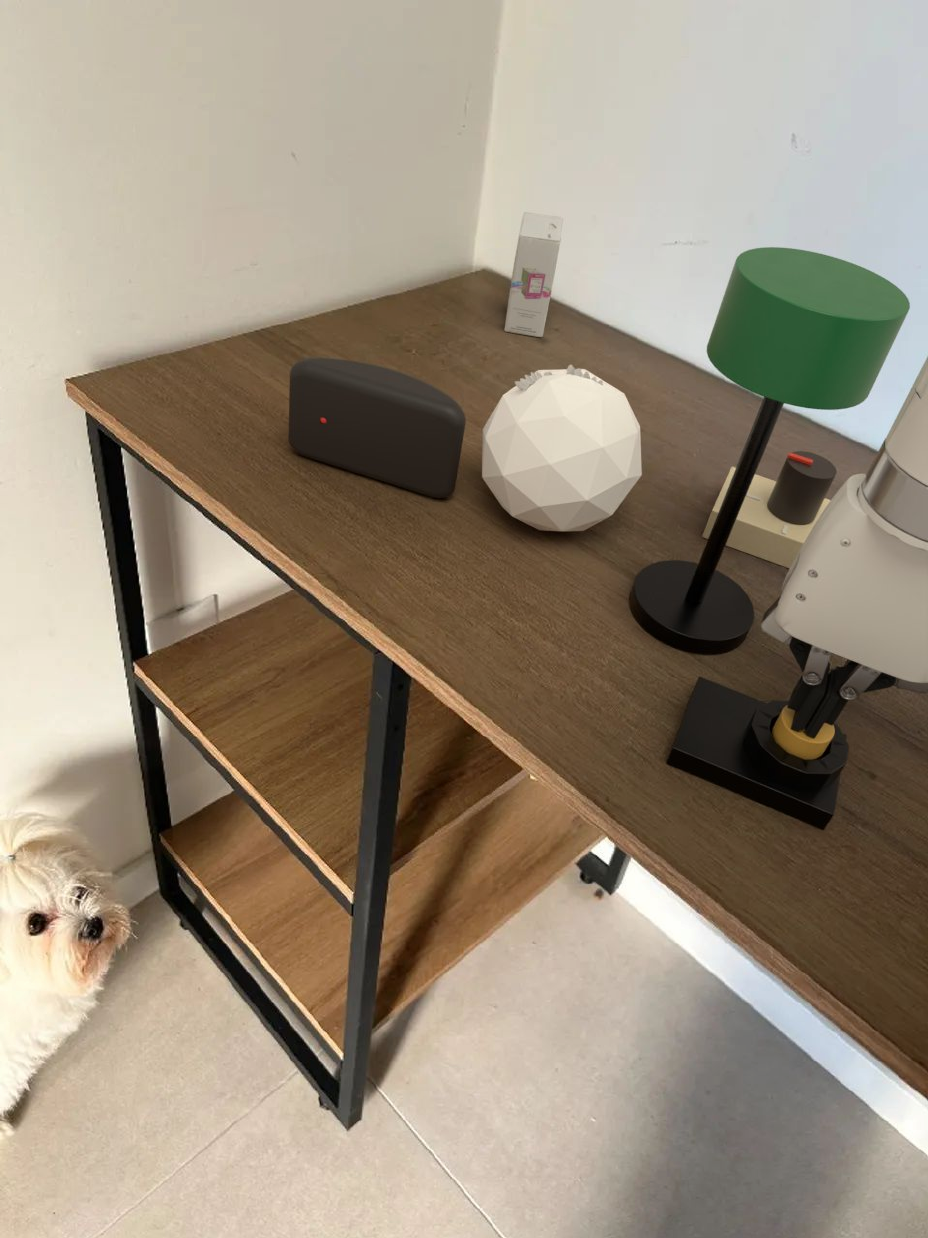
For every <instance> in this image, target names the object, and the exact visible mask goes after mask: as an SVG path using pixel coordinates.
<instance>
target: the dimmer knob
mask: <svg viewBox="0 0 928 1238" xmlns="http://www.w3.org/2000/svg"><path fill="white" fill-rule="evenodd" d="M836 475H837V467H836V466H835V465H834V464H833V463H832V462H831V461H830V460H829V459H827V458H825V457H824V456H822V455H819V454H817V453H815V452H810V451H804V450H802V451H801V450H796V451H792V452H789V453H788V455H787V456H786V458H785V461H784V463H783V465H782V468H781V471H780V472H779V474H778V477H777V480H776V484H775V486H774V489H773V491H772V493H771V496H770V498H769V500H768V503H767V506H768V509H769V510H770V512H771V513H772V514H773V515H775V516H776V517H777V518H779V519H781V520H783V521H785V522H788V523H792V524H796V525H806V524H810V523H812V522H813V521H814V519H815V517H816V515H817V513H818V511H819V509H820V507H821V505H822V503H823V501H824V498H826V497H827V494H828V492H829V490H830V488H831V486H832V484H833V482H834V480H835V478H836Z"/></svg>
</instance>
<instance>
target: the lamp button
mask: <svg viewBox="0 0 928 1238" xmlns="http://www.w3.org/2000/svg"><path fill="white" fill-rule="evenodd" d="M787 706H788V705H787ZM787 706H785V707H784V708H783V710H782V712H781V713H780V715H779V717H778V719H777V721H776V723H775V725H774V726H773V730H772V734H773V737H774V740H775V742H776V743H777V744H779V745H780V746H781V747H782V748H783V749H784V750H785V751H787V752H788V753H790V754H792V755H795V756H797V757H800V758H802V759H816V758H818V757H820V756H821V755H822V754H823V753H824V751H825V750H826V748H827V746H828V745H829V743H830V741H831V740H832V738H833V736H834V733H835V729H834V725H832V726H831V725H829V724H826V723H824V724H823V726H822V728H821V729H820V731H819V732H818V734H817V736H816V737H815V738H812V737H809V736H807V733H805V728H804V730H803V731H799V732H797V731H795V730H792V729H791V725H792V721H793V717H794V713H795V711H794V710H792V709H789V708H787ZM805 727H806V726H805Z"/></svg>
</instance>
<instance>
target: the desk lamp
mask: <svg viewBox="0 0 928 1238" xmlns="http://www.w3.org/2000/svg"><path fill="white" fill-rule="evenodd" d="M910 308H911V303H910V300H909V298H908V297H907V295H906V293H904V291H902V289H900V288H899V287H898V286H897V285H896V284H894V283H893V282H891V281H890V280H888V279H887V278H885V277H883V276H881V275H879V274H878V273H876V272H875V271H872V270H870V269H867V268H866V267H862V266H861V265H858V264H856V263H853V262H850V261H847V260H844V259H841V258H837V257H834V256H832V255H827V254H823V253H819V252H815V251H811V250H805V249H798V248H792V247H791V248H790V247H779V246H777V247H776V246H775V247H774V246H769V247H767V246H765V247H755V248H751V249H748V250H745V251H743V252H742V253H740V254H739V255H738V256H736V259H735V261H734V265H733V267H732V270H731V274H730V276H729V279H728V282H727V285H726V288H725V291H724V294H723V297H722V300H721V303H720V306H719V308H718V312H717V314H716V317H715V320H714V323H713V327H712V329H711V332H710V335H709V338H708V342H707V345H706V354H707V358H708V359H709V361H710V363H711V364H712V365H713V367H714V368H715V369H716V370H717V371H718V372H719V373H720V374H721V375H723V376H724V377H725V378H726V379H729V380H730V381H731V382H733V383H734V384H736V385H738V386H740V387H742V388H744V389H746V390H747V391H749V392H751V393H754V394H756V395H759V396H761V397H763V399H762V402H761V404H760V407H759V409H758V411H757V414H756V417H755V419H754V422H753V424H752V427H751V429H750V431H749V434H748V437H747V439H746V442H745V444H744V447H743V448H742V449H743V450H742V452H741V454H740V457H739V459H738V462H737V464H736V466H735V468H736V470H735V472H734V475H733V477H732V480H731V482H730V485H729V487H728V490H727V492H726V495H725V497H724V500H723V503H722V505H721V508H720V510H719V513H718V515H717V518H716V520H715V523H714V525H713V528H712V530H711V533H710V535H709V538H708V539H707V541H706V543H705V546H704V548H703V551H702V554H701V556H700V558H699V561H698V563H697V562H694V561H688V560H681V559H667V560H660V561H656V562H653V563H650V564H648V565H646V566H645V567H643V568H642V569H641V570H639V572H638V573H637V575H636V576H635V579H634V581H633V584H632V586H631V590H630V592H629V598H628V604H629V608H630V612H631V614H632V616H633V618H634V619H635V620H636V622H637V623H638V625H639V626H640V627H641V628H642V629H643V630H644V631H645V632H647V633H648V634H649V636H652V637H653V638H654V639H656V640H658V641H659V642H660V643H663V644H665V645H667V646H669V647H670V648H673V649H676V650H679V651H682V652H686V653H689V654H695V655H706V656H707V655H709V656H710V655H711V656H712V655H713V656H714V655H721V654H724V653H729V652H731V651H734V650H735V649H737V648H738V647H740V646H741V645H742V644H743V643H744V642H745V641H746V639H747V637H748V634H749V632H750V630H751V628H752V626H753V624H754V621H755V607H754V605H753V602H752V600H751V598H750V596H749V595H748V593H746V591H745V589H743V588H742V587H741V586H740V584H738V583H737V582H736V581H734V579H732V578H730V577H729V576H728V575H726V574H724V573H722V572H721V571H719V570H716V569H717V567H718V564H719V562H720V560H721V557H722V555H723V553H724V551H725V547H726V543H727V541H728V538H729V536H730V533H731V531H732V528H733V526H734V524H735V521H736V519H737V516H738V514H739V511H740V509H741V507H742V504H743V502H744V499H745V497H746V494H747V492H748V490H749V487H750V485H751V482H752V480H753V477H754V475H755V474H756V472H757V471H758V468H759V465H760V463H761V460H762V458H763V456H764V454H765V450H766V448H767V446H768V443H769V441H770V438H771V436H772V434H773V431H774V429H775V427H776V424H777V421H778V419H779V417H780V415H781V412H782V409H783V407H784V404H785V405H790V406H793V407H799V408H803V409H804V408H805V409H812V410H821V411H823V410H824V411H838V410H845V409H846V410H847V409H850V408H855V407H856V406H858V405H860V404H862V403H864V402H865V401H866V399H867V398H868V397H869V395H870V393H871V391H872V389H873V387H874V385H875V382H876V381H877V378H878V377H879V375H880V372H881V370H882V368H883V366H884V363H885V362H886V359H887V357H888V355H889V353H890V351H891V349H892V347H893V345H894V343H895V341H896V338H897V336H898V334H899V332H900V330H901V328H902V326H903V323H904V322H905V320H906V318H907V316H908V314H909V311H910Z"/></svg>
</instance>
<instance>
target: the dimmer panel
mask: <svg viewBox="0 0 928 1238" xmlns="http://www.w3.org/2000/svg"><path fill="white" fill-rule="evenodd" d="M735 470H736V466H730V469H729V472H728V474H727V475H726V478H725V481H724V482H723V485H722V487H721V489H720V492H719V494H718V497H717V498H716V500H715V503H714V504H713V507H712V510H711V512H710V515H709V518H708V520H707V522H706V525H705V527H704V530H703V533H702V535H701V537H702V538H705V539H706V540H708V538H709V535H710V533H711V530H712V528H713V525H714V523H715V520H716V518H717V515H718V513H719V510H720V508H721V505H722V503H723V500H724V497H725V495H726V492H727V490H728V487H729V485H730V482H731V480H732V477H733V475H734V472H735ZM776 482H777V480H773V479H770V478H767V477H764V476H762V475H759V474H756V473H755V475H754V477H753V480H752V482H751V485H750V487H749V490H748V492H747V494H746V497H745V499H744V502H743V504H742V507H741V509H740V511H739V514H738V516H737V519H736V521H735V524H734V526H733V528H732V531H731V533H730V536H729V538H728V541H727V543H726V545H725V547H726V546H727V547H729V548H732V549H734V550H737V551H740V552H742V553H746V554H748V555H751V556H753V557H756V558H758V559H759V558H760V559H762V560H764V561H768V562H770V563H773V564H775V565H778V566H781V567H783V568H787V569H788V570H789V569H790V567H791V565H792V563H793V561H794V560H795V558H796V556H797V554H798V552H799V551H800V549H801V547H802V545H803V544H804V542H805V540H806V538H807V537H808V535H809V533H810V532H811V530H812V528H813V527H814V525H815V523H816V522H817V520H818V519H819V517H820V516H821V514H822V513H823V511H824V509H825V508H826V506H827V505H828V504H829V502H830V501H831V500H832V499H828V498H826V497H825V498H824V501H823V503H822V505H821V507H820V509H819V511H818V513H817V515H816V517H815V519H814V521H813V522H812V523H810V524H806V525H796V524H792V523H788V522H785V521H783V520H781V519H779V518H777V517H776V516H775V515H773V514H772V513H771V512H770V510H769V509H768V506H767V503H768V500H769V498H770V496H771V493H772V491H773V489H774V486H775V484H776Z"/></svg>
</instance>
